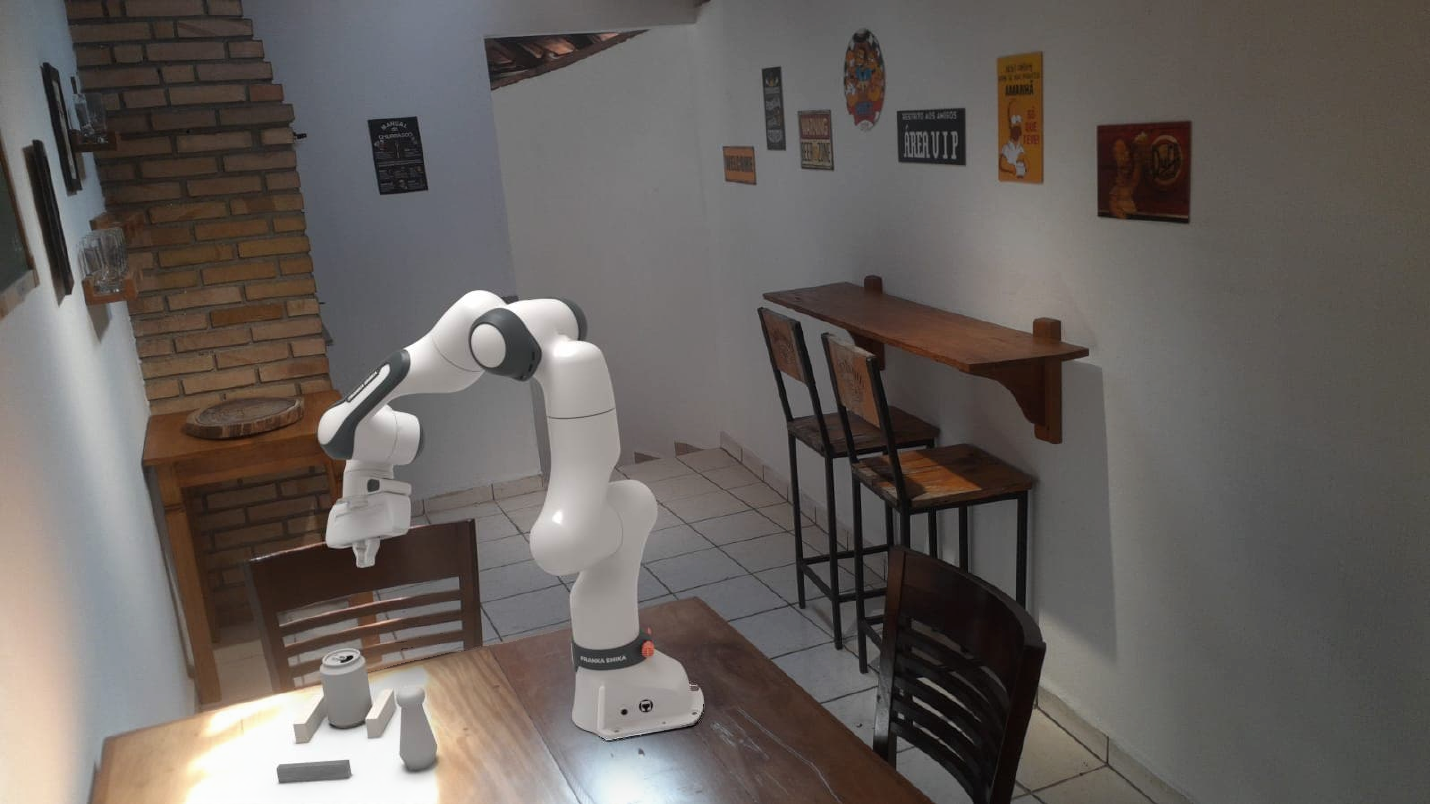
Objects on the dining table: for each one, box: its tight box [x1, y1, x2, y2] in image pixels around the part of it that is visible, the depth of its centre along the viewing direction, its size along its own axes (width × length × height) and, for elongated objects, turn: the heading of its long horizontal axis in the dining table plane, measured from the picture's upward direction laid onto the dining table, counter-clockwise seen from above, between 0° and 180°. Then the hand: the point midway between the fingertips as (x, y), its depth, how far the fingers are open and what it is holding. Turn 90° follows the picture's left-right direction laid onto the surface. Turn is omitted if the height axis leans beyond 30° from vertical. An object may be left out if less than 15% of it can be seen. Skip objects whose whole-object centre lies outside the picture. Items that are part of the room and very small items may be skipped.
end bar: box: [276, 759, 352, 784], centre depth 169 cm, size 11×1×2 cm, turn 91°
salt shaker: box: [395, 684, 438, 771], centre depth 170 cm, size 6×6×13 cm
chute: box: [292, 688, 397, 744], centre depth 185 cm, size 14×10×4 cm
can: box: [319, 647, 373, 729], centre depth 186 cm, size 8×8×12 cm
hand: (365, 566), depth 194 cm, fingers closed
